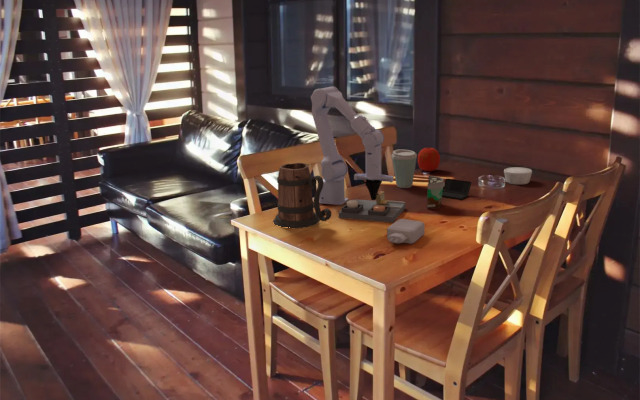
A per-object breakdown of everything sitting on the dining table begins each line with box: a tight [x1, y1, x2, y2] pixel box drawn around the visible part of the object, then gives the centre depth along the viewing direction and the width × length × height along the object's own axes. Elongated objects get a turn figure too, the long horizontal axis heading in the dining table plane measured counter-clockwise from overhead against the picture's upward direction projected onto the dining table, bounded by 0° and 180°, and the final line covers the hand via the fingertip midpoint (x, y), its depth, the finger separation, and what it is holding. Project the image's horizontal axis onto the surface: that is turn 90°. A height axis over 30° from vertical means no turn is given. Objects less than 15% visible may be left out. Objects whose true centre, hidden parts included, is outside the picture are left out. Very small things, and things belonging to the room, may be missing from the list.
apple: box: [417, 147, 441, 172], centre depth 270 cm, size 10×10×12 cm
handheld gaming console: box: [442, 178, 472, 201], centre depth 232 cm, size 12×7×10 cm
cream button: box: [346, 199, 358, 209], centre depth 211 cm, size 4×4×2 cm
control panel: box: [338, 198, 406, 224], centre depth 214 cm, size 20×17×4 cm
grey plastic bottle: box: [386, 218, 425, 245], centre depth 186 cm, size 5×9×15 cm
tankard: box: [272, 162, 332, 229], centre depth 204 cm, size 24×17×20 cm
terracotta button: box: [374, 205, 385, 212], centre depth 207 cm, size 4×4×2 cm
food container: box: [426, 175, 445, 210], centre depth 219 cm, size 12×6×10 cm, turn 168°
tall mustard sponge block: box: [375, 190, 389, 205], centre depth 216 cm, size 3×5×4 cm, turn 158°
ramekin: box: [503, 166, 533, 186], centre depth 247 cm, size 11×11×5 cm
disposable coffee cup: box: [390, 149, 418, 189], centre depth 245 cm, size 11×11×15 cm
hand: (373, 199), depth 218 cm, fingers closed
